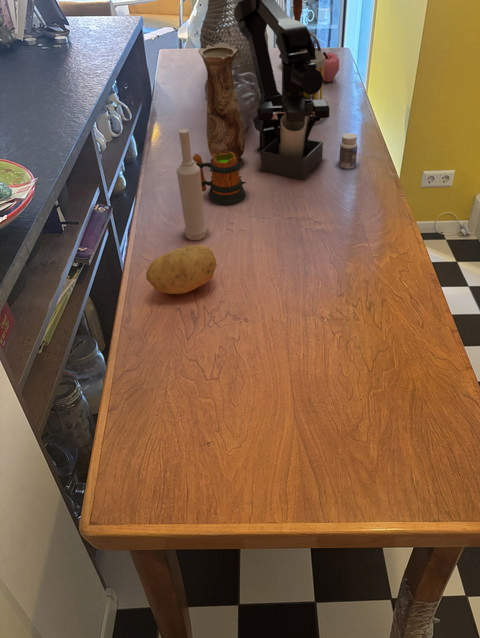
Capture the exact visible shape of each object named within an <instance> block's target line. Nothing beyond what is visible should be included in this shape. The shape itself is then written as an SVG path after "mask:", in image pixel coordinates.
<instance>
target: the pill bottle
mask: <svg viewBox="0 0 480 638" xmlns="http://www.w3.org/2000/svg"><path fill="white" fill-rule="evenodd" d="M357 140H358V135H357V134H356V133H352V132H347V133H344V134H342V136H341V142H340V144H339V156H338V157H339V159H338V160H339V161H338V166H339V167H340V168H341V169H353V168H355V166H356V165H357V156H358V142H357Z"/></svg>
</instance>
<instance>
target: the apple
mask: <svg viewBox="0 0 480 638" xmlns="http://www.w3.org/2000/svg"><path fill="white" fill-rule="evenodd" d="M322 53H323V54H324V56H325V64H324V70H323V83H330V82H333V81H334V79H335V77H336V75H337V74H338V72H339V70H340V59H339V56H338V54H336V53H332V52H325V51H323V52H322ZM319 71H320V72H321V67H320V68H319Z"/></svg>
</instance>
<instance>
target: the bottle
mask: <svg viewBox="0 0 480 638" xmlns="http://www.w3.org/2000/svg"><path fill="white" fill-rule="evenodd" d="M178 135H179V143H180V149H181V159H182V160H181V162H180V165H179V166H177V168H176V175H177V181H178V190H179V194H180V195H179V196H180V201H181V208H182V215H183V222H184V228H183V230H184V234H185V237H186V238H187V239H188V240H191V241H200V240H202V239H204V238H205V237H206V236H207V226H206V223H205V213H204V211H205V210H204V199H203V191H202V185H201V173H200V167H199V166H197V165H196V162H195V161H194V160H193V159H192V158H193V156H192V151H191V142H190V141H191V140H190V131H189V129H188V128H181V129H179V130H178Z"/></svg>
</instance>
